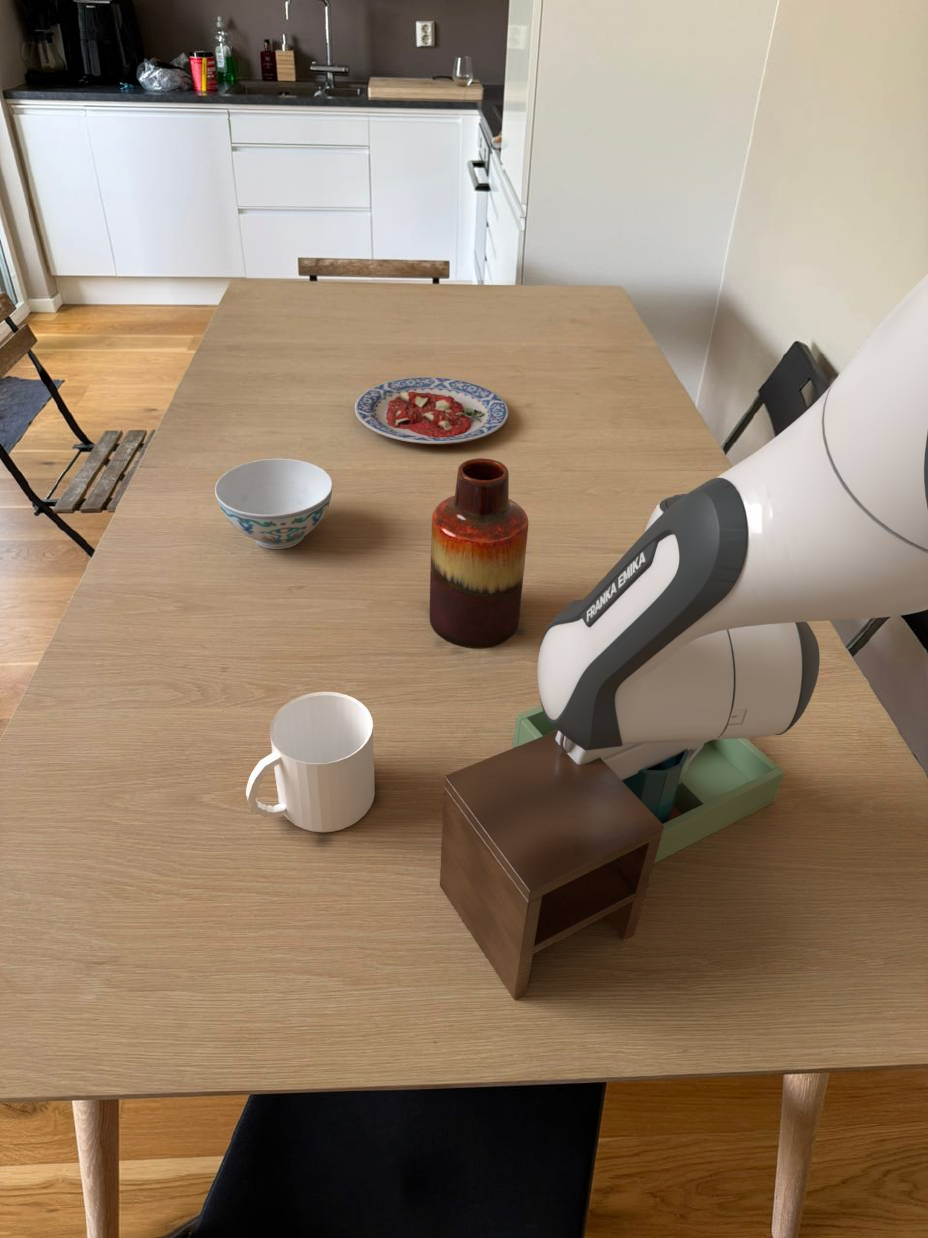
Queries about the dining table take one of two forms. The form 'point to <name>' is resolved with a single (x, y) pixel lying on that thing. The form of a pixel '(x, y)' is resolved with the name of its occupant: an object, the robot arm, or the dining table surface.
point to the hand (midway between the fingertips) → (640, 786)
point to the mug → (319, 762)
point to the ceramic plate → (431, 410)
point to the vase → (477, 558)
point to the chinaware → (275, 500)
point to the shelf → (542, 852)
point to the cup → (659, 785)
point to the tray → (698, 784)
